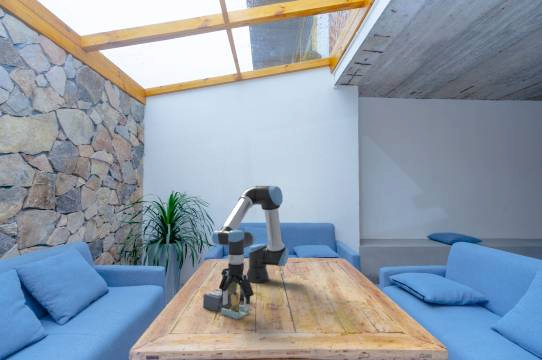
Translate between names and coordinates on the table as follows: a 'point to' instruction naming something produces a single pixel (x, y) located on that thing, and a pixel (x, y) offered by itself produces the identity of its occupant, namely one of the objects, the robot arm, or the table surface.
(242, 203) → the robot arm
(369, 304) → the table surface
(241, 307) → the trough
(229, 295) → the cradle
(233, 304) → the cell
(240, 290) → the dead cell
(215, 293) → the plate
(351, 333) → the table surface
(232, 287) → the coffee cup
